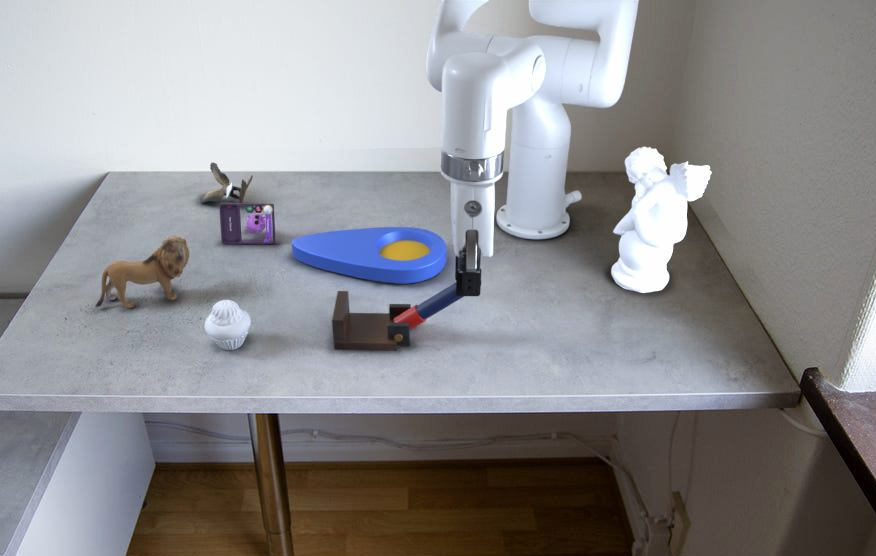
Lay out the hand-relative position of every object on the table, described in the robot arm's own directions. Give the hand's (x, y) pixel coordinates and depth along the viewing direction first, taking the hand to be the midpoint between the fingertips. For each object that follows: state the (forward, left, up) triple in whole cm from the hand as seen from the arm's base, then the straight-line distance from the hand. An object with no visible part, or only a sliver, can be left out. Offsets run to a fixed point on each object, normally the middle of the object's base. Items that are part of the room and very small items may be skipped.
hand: (467, 286), depth 103 cm
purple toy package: (+12, -42, -8) cm, 45 cm away
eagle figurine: (+10, -57, -8) cm, 59 cm away
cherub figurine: (-33, +5, -8) cm, 34 cm away
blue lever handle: (+2, -2, -4) cm, 5 cm away
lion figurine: (+32, -36, -8) cm, 49 cm away
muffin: (+27, -18, -8) cm, 34 cm away
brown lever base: (+10, -8, -8) cm, 15 cm away
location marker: (0, -25, -8) cm, 26 cm away
